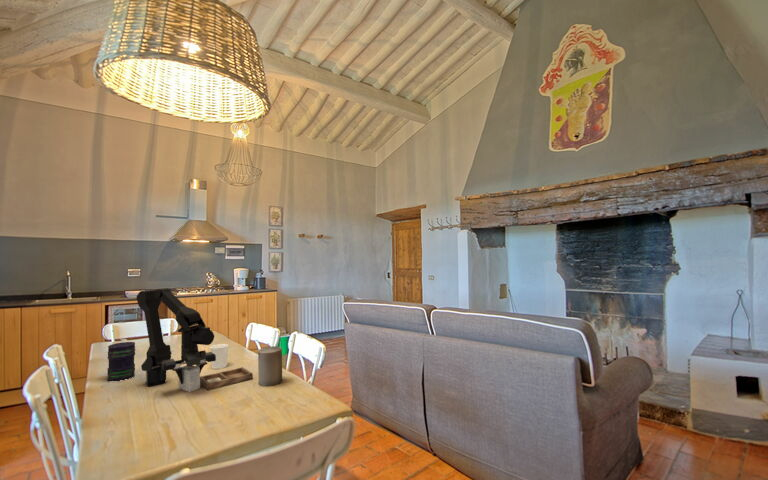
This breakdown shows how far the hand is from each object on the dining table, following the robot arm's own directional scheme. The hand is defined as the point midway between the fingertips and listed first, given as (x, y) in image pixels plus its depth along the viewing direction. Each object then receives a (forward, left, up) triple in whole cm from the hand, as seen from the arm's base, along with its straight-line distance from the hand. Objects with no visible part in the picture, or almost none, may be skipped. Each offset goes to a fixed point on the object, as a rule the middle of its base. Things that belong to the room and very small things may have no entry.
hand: (189, 382), depth 142 cm
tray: (+14, -1, -3) cm, 14 cm away
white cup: (+18, +22, -3) cm, 29 cm away
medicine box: (0, 0, -3) cm, 3 cm away
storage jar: (-19, +36, -3) cm, 41 cm away
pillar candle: (+27, -16, -3) cm, 32 cm away
